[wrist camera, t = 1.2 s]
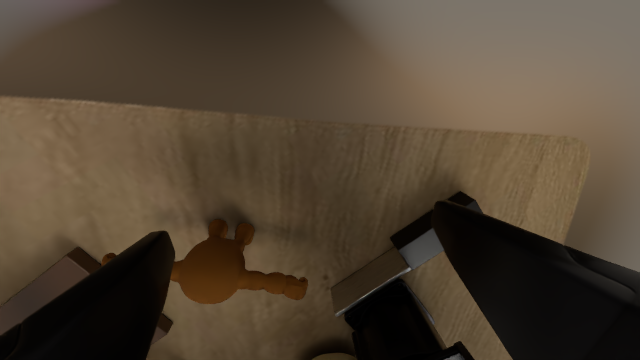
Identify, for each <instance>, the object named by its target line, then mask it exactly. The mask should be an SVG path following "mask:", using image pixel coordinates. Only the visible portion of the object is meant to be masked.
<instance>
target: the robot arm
mask: <svg viewBox="0 0 640 360" xmlns="http://www.w3.org/2000/svg"><path fill="white" fill-rule="evenodd" d="M431 225H432V228H433V230H434V232H435V234H436V235H437V237H438V239H439V241H440V243H441V245H442V247H443V249H444V251H445V253H446V255H447V257H448V259H449V261H450V263H451V264H452V266H453V267H454V269H455V271H456V272H457V274H458V275H459V277H460V278H461V280H462V281H463V283H464V285H465V286H466V288H467V289H468V291H469V292H470V294H471V295H472V297H473V299H474V300H475V302H476V303H477V305H478V306H479V308H480V309H481V311H482V312H483V314H484V316H485V317H486V319H487V320H488V322H489V323H490V325H491V326H492V328H493V330H494V331H495V333H496V334H497V336H498V337H499V339H500V340H501V342H502V343H503V345H504V347H505V348H506V350H507V351H508V353H509V354H510V356H511V357H512V359H513V360H640V272H637V271H634V270H631V269H628V268H625V267H622V266H620V265H617V264H614V263H611V262H608V261H605V260H603V259H600V258H597V257H594V256H592V255H589V254H586V253H584V252H581V251H578V250H576V249H573V248H571V247H568V246H565V245H564V246H563V245H562V244H560V243H558V242H555V241H553V240H550V239H547V238H545V237H542V236H540V235H537V234H534V233H532V232H529V231H527V230H524V229H521V228H519V227H516V226H514V225H511V224H509V223H506V222H503V221H501V220H498V219H496V218H493V217H490V216H488V215H485V214H483V213H480V212H478V211H475V210H472V209H470V208H467V207H465V206H462V205H459V204H457V203H454V202H452V201H449V200H443V201H437V202H436V203H435V205H434V209H433V213H432V218H431ZM174 260H175V250H174V247H173V244H172V242H171V239H170V236H169V234H168V232H167V231H155V232H151V233H149V234H148V235H146V236H145V237H143V238H142V239H141V240H139V241H138V242H136V243H135V244H133V245H132V246H130V247H129V248H127V249H126V250H124V251H123V252H122V253H120V254H119V255H117V256H116V257H114V258H113V259H111V260H110V261H108V262H107V263H105V264H104V265H103V266H101V267H100V268H98V269H97V270H95V271H94V272H92V273H91V274H89V275H88V276H86V277H85V278H84V279H82V280H81V281H79V282H78V283H76V284H75V285H73V286H72V287H70V288H69V289H67V290H66V291H65V292H63V293H62V294H60V295H59V296H57V297H56V298H54V299H53V300H51V301H50V302H48V303H47V304H46V305H44V306H43V307H41V308H40V309H38V310H37V311H35V312H34V313H32V314H31V315H29V316H28V317H27V318H25V319H24V320H23V321H22V323H18V324H16V325H15V326H13V327H12V328H10V329H9V330H7V331H6V332H5V333H3V334H2V335H0V360H146V358H147V355H148V352H149V349H150V346H151V343H152V340H153V337H154V334H155V331H156V328H157V325H158V322H159V320H160V317H161V314H162V311H163V307H164V304H165V300H166V296H167V292H168V287H169V283H170V278H171V273H172V269H173V264H174ZM399 284H401V285H400V286H398V285H399ZM349 316H351V317H349ZM344 317H345V320H346V322H347V323H348V324H349V325H350V326H351V327H352V328H353V329H354V330H355V331H354V332H353V333H352V341H353V345H354V350H355V354H356V359H357V360H474V358H473V357H472V356H471V354H470V353H469V352H468V350H467V349H466V348H465V346H464V345H463V344H462V342H461V341H459V342H456V343H454V345H453V346H451V347H449V348H447V347H446V346H445V344H444V342H443V340H442V339H441V337H440V335H439V334H438V332H437V330H436V329H435V327H434V323H435V322H434V320H433V318H432V317H431V315H430V314H429V313H428V311H427V310H426V309H425V307H424V306H423V305H422V304H421V302H420V301H419V300H418V298H417V297H416V296H415V294H414V293H413V292H412V291H411V289H410V288H409V287H408V285H407V284H406V283H405V281H404V280H403V279H397V280H395V281H394V282H392V283H391V284H389V285H387V286H386V287H384V288H383V289H381V290H380V291H378V292H376V293H375V294H373V295H372V296H370V297H369V298H367V299H365V300H364V301H362V302H361V303H359V304H358V305H356V306H354V307H353V308H351V309H350V310H348V311H347V312H345V314H344Z"/></svg>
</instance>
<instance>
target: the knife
mask: <svg viewBox="0 0 640 360" xmlns="http://www.w3.org/2000/svg"><path fill="white" fill-rule="evenodd" d="M448 200H449V201H452V202H454V203H457V204H459V205H462V206H465V207H467V208H470V209H472V210H475V211H478V212H480V213H483V212H482V211H481V209H480V207H479V205H478V204H477V202H476V200H474V199H473V198H471V197H469V196H468V195H466V194H464V193H463V192H461V191H460V192H458V193H457V194H455V195H454V196H452V197H451V198H449V199H448ZM432 213H433V210H431V211H430V212H428V213H426V214H425V215H423V216H422V217H420V218H419V219H417V220H416V221H414V222H413V223H411V224H410V225H408V226H407V227H405V228H404V229H402V230H401V231H399V232H398V233H396V234H395V235H393V236H392V237H390V239H391V241H392V242H393V244H394V246H395V247H394V248H392V249H391V250H389V251H388V252H386V253H385V254H383V255H382V256H380V257H378V258H377V259H375V260H374V261H372V262H371V263H369V264H368V265H366V266H365V267H363V268H362V269H360V270H359V271H357V272H356V273H354V274H353V275H351V276H349V277H348V278H346V279H345V280H343V281H342V282H340V283H339V284H337V285H336V286H334V287H333V288H331V294H332V300H333V306H334V312H335V315H336V316H337V317H338V316H339V315H341V314H342V313H344V312H345V311H347V310H349V309H350V308H352V307H353V306H355V305H356V304H358V303H360V302H361V301H363V300H364V299H366V298H367V297H369V296H371V295H372V294H374V293H375V292H377V291H378V290H380V289H382V288H383V287H385V286H386V285H388V284H389V283H391V282H393V281H394V280H396V279H397V278H399V277H400V276H402V275H404V274H405V273H407V272H408V271H410V270H411V269H412V270H414V269H415V268H417V267H419V266H420V265H422V264H423V263H425V262H426V261H428V260H430V259H431V258H433V257H434V256H436V255H437V254H439V253H441V252H442V251H444V249H443V247H442V245H441V243H440V241H439V239H438V237H437V235H436V234H435V232H434V230H433V228H432V225H431V218H432ZM406 262H407V263H406ZM408 265H409V266H410V267H409V266H408ZM410 268H411V269H410Z"/></svg>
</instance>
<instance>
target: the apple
mask: <svg viewBox="0 0 640 360" xmlns="http://www.w3.org/2000/svg"><path fill="white" fill-rule="evenodd" d="M312 360H357V359H356V358H355V357H353V356H351V355H348V354H345V353H328V354H322V355H319V356H317V357H315V358H313V359H312Z"/></svg>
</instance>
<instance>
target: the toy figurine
mask: <svg viewBox="0 0 640 360" xmlns="http://www.w3.org/2000/svg"><path fill="white" fill-rule="evenodd" d="M227 231H228V225H227V223H226V222H225V221H223V220H221V219H216V220H213V221H212V222H211V223H210V225H209V238H207V240H204V241H202V242H201V243H199V244H197V245H196V246H195V247H194V248H193V249H192V250H191V251H190V252H189V253H188V254H187V256H186V257H185V259H184V260H181V261H177V262H175V261H174V264H173V269H172V273H171V278H170V280H172V281H175V282H178V283H179V284H180V286H181V289H182V290H183V292H184V294H185V295H186V296H187V297H188V298H189V299H191V300H193V301H195V302H198V303H203V304H216V303H221V302H223V301H225V300H227V299H228V298H230V297H231V296H232V295H233V294H234V293H235V292H236V291H237V290H238V289H249V290H261V289H265V290H266V291H267V292H270V293H273V294H284V295H285V296H287V297H288V298H291V299H294V300H300V299H302V298H303V297H304V296H305V293H306V290H307V287H308V280H307V279H306V278H305V277H302V278H300V279H299V280H298V279H297V278H296V277H294V276H292V275H287V276H285V275H284V274H283V273H279V272H274V273H269V274H264V273H262V272H259V271H248V270H246V269H245V259H244V256H243V250H244V247H245V245H248V244H250V243H251V241H252V239H253V236H254V228H253V227H252V226H251V225H250V224H247V223H241V224H240V225H239V226H238V227H237V229H236V233H235V239H234V240H230V239H225V238H226V235H227ZM114 257H116V255H115V254H114V253H109V254H106V255H105V256H104V257H103V260H102V263H101V265H102V266H103V265H104V264H105V263H107V262H108V261H110V260H111V259H113V258H114Z"/></svg>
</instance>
